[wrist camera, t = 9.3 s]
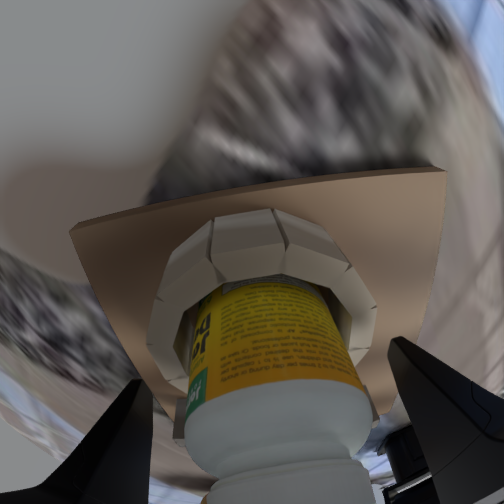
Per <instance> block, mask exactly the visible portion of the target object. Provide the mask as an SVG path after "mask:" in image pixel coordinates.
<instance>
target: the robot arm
mask: <svg viewBox="0 0 504 504" xmlns="http://www.w3.org/2000/svg"><path fill="white" fill-rule="evenodd" d="M387 358H388V361H389V364H390V367H391V370H392V373H393V377H394V380H395V383H396V386H397V389H398V392H399V395H400V397H401V399H402V402H403V404H404V406H405V409H406V411H407V413H408V416H409V418H410V421H411V423H412V425H413V426H411V427H409V428H406V429H404V430H401V431H399V432H396V433H393V434H391V435H389V436H387V437H386V439H385V441H384V442H383V444H382V446H381V447H380V449H379V450H378V452H377V455H378V456H380V455H383V454H385V453H386V454H387V457H388V460H389V462H390V465H391V468H392V471H393V474H394V477H395V480H396V483H397V484H395V485H392V486H390V487H386V488H384V490H383V491H382V493H383V496H384V500H385V504H504V399H502V398H500V397H498V396H496V395H495V394H493V393H491V392H489V391H487V390H486V389H484V388H482V387H481V386H479V385H477V384H476V383H474V382H473V381H471V380H470V379H468V378H467V377H465V376H464V375H462V374H460V373H459V372H457V371H456V370H454V369H453V368H451V367H450V366H448V365H447V364H445V363H444V362H442V361H440V360H439V359H437V358H436V357H434V356H433V355H431V354H430V353H428V352H426V351H425V350H423V349H422V348H420V347H419V346H417V345H416V344H414V343H412V342H411V341H409V340H408V339H406V338H405V337H403V336H398V337H394V338H392V339H391V341H390V344H389V348H388V352H387ZM152 437H153V395H152V392H151V390H150V388H149V387H148V385H147V384H146V382H145V381H144V380H143V379H132V380H131V381H130V382H129V383H128V385H127V386H126V387H125V388H124V389H123V391H122V392H121V393H120V394H119V395H118V397H117V398H116V399H115V400H114V402H113V403H112V404H111V405H110V406H109V408H108V409H107V410H106V411H105V413H104V414H103V415H102V416H101V417H100V419H99V420H98V421H97V422H96V424H95V425H94V426H93V427H92V429H91V430H90V431H89V432H88V433H87V435H86V436H85V437H84V438H83V440H82V441H81V443H79V444H78V446H77V447H76V448H75V449H74V451H73V452H72V453H71V454H70V455H69V456H68V458H67V459H66V460H65V461H64V462H63V463H62V464H61V465H60V466H59V467H58V468H57V469H56V470H55V471H54V472H53V473H52V474H51V475H50V476H49V477H48V478H47V479H46V480H45V481H44V482H42V483H41V484H39V485H37V486H35V487H32V488H27V489H23V490H17V491H11V492H5V493H0V504H148V495H149V475H150V460H151V448H152ZM429 475H432V477H430V478H428V479H426V480H424V481H422V482H420V483H419V484H417V485H415V486H413V487H411V488H409V489H406V490H404V491H402V492H400V493H398V492H397V491H399V490H401V489H403V488H405V487H408V486H410V485H412V484H414V483H416V482H417V481H419V480H421V479H423V478H425V477H427V476H429Z"/></svg>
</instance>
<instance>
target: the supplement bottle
mask: <svg viewBox="0 0 504 504" xmlns="http://www.w3.org/2000/svg"><path fill="white" fill-rule="evenodd" d="M372 422H373V414H372V409H371V405H370V402H369V399H368V397H367V395H366V392H365V390H364V388H363V385H362V383H361V381H360V378H359V376H358V374H357V372H356V369H355V367H354V365H353V362H352V360H351V358H350V355H349V353H348V351H347V349H346V347H345V345H344V342H343V340H342V338H341V335H340V333H339V331H338V329H337V327H336V325H335V323H334V320H333V318H332V316H331V314H330V312H329V309H328V307H327V305H326V303H325V301H324V299H323V297H322V294H321V292H320V290H319V288H318V287H317V285H316V284H315V283H312V282H308V281H305V280H302V279H298V278H295V277H292V276H288V275H285V274H282V273H281V274H275V275H269V276H263V277H257V278H251V279H245V280H239V281H233V282H226V283H223V284H221V285H220V286H219V287H217V288H216V289H214V290H213V291H212V292H210V293H209V294H208V295H206V296H205V297H203V298H202V299H201V300H199V305H198V312H197V319H196V327H195V335H194V343H193V351H192V360H191V366H190V376H189V384H188V394H187V404H186V416H185V426H184V438H185V445H186V448H187V451H188V453H189V455H190V456H191V458H192V459H193V461H194V462H195V463H196V464H197V465H198V466H199V467H200V468H201V469H203V470H204V471H206V472H207V473H209V474H211V475H212V476H215V477H217V478H219V481H217V482H216V483H214V484H213V485H212V486H211V489H210V493H209V494H208V495H207V497H206V500H207V504H376V501H375V497H374V493H373V489H372V486H371V482H370V477H369V472H368V470H367V469H366V468H364V467H363V465H362V463H361V462H359V461H357V460H354V459H351V457H353V456H354V455H355V454H356V453H357V452H358V451H359V450H360V449H361V447H362V446H363V445H364V443H365V442H366V440H367V438H368V437H369V434H370V432H371V428H372Z"/></svg>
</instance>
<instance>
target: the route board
mask: <svg viewBox="0 0 504 504" xmlns="http://www.w3.org/2000/svg"><path fill="white" fill-rule="evenodd" d="M446 186H447V171H445V170H443V169H440V168H437V167H435V166H434V167H413V168H396V169H382V170H370V171H359V172H348V173H339V174H330V175H321V176H312V177H305V178H297V179H289V180H282V181H275V182H269V183H262V184H256V185H249V186H243V187H237V188H231V189H226V190H220V191H215V192H209V193H204V194H199V195H194V196H188V197H184V198H179V199H174V200H169V201H164V202H160V203H155V204H151V205H146V206H142V207H138V208H133V209H129V210H125V211H121V212H117V213H113V214H109V215H105V216H102V217H97V218H94V219H90V220H87V221H83V222H79V223H78V224H77V225H75V226H74V227H73V228H72V229H71V230H70V231H69V233H70V236H71V239H72V241H73V244H74V246H75V249H76V251H77V254H78V256H79V259H80V261H81V263H82V266H83V268H84V270H85V273H86V275H87V277H88V280H89V282H90V284H91V286H92V288H93V290H94V293H95V295H96V297H97V299H98V301H99V303H100V305H101V307H102V309H103V311H104V313H105V315H106V317H107V319H108V320H109V322H110V324H111V326H112V328H113V330H114V332H115V333H116V335H117V337H118V339H119V341H120V342H121V344H122V346H123V347H124V349H125V351H126V353H127V354H128V356H129V358H130V359H131V361H132V362H133V364H134V366H135V367H136V369H137V370H138V372H139V374H140V375H141V377H142V378H143V380H144V381H145V382H146V384H147V385H148V387H149V388H150V390H151V392H152V393H153V395H154V396H155V397H156V399H157V400H158V402H159V403H160V405H161V406H162V407H163V409H164V410H165V411H166V413H167V414H168V415H169V417H170V418H171V419H172V421H173V422H174V429H173V440H174V441H175V442H176V443H177V444H178V445H179V447H186V445H185V438H184V426H185V416H186V404H187V394H188V384H189V376H190V366H191V360H192V351H193V343H194V335H195V327H196V319H197V312H198V305H199V300H201V299H202V298H203V297H205V296H206V295H208V294H209V293H210V292H212V291H213V290H214V289H216V288H217V287H219V286H220V285H221V284H223V283H226V282H233V281H239V280H245V279H251V278H257V277H263V276H269V275H275V274H281V273H282V274H285V275H288V276H292V277H295V278H298V279H302V280H305V281H308V282H312V283H315V284H316V285H317V287H318V288H319V290H320V292H321V294H322V297H323V299H324V301H325V303H326V305H327V307H328V309H329V312H330V314H331V316H332V318H333V320H334V323H335V325H336V327H337V329H338V331H339V333H340V335H341V338H342V340H343V342H344V345H345V347H346V349H347V351H348V353H349V355H350V358H351V360H352V362H353V365H354V367H355V369H356V372H357V374H358V376H359V378H360V381H361V383H362V385H363V388H364V390H365V392H366V395H367V397H368V399H369V402H370V405H371V409H372V414H373V422H372V428H371V429H373V428H376V427H377V425H378V423H379V421H380V418H379V415H382V414H385V413H388V412H389V411H390V409H391V407H392V405H393V403H394V400H395V398H396V396H397V393H398V389H397V386H396V383H395V380H394V377H393V373H392V370H391V367H390V364H389V361H388V358H387V352H388V348H389V344H390V341H391V339H392V338H394V337H398V336H403V337H405V338H406V339H408V340H409V341H411V342H412V343H414V344H416V342H417V339H418V336H419V333H420V330H421V326H422V323H423V319H424V316H425V312H426V308H427V305H428V301H429V297H430V293H431V288H432V284H433V279H434V275H435V270H436V265H437V259H438V254H439V248H440V241H441V235H442V227H443V219H444V210H445V200H446Z"/></svg>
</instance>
